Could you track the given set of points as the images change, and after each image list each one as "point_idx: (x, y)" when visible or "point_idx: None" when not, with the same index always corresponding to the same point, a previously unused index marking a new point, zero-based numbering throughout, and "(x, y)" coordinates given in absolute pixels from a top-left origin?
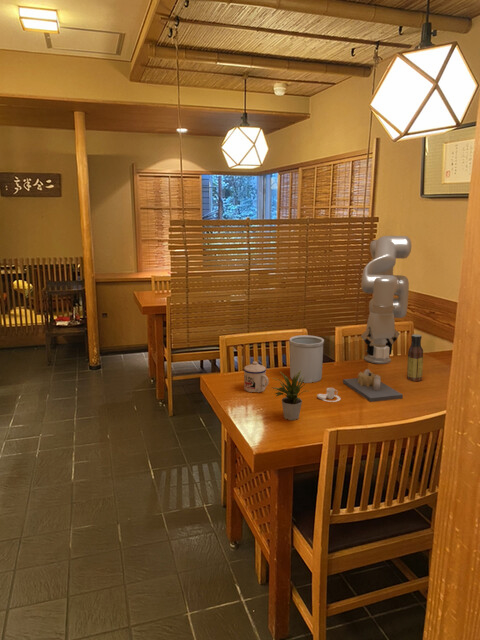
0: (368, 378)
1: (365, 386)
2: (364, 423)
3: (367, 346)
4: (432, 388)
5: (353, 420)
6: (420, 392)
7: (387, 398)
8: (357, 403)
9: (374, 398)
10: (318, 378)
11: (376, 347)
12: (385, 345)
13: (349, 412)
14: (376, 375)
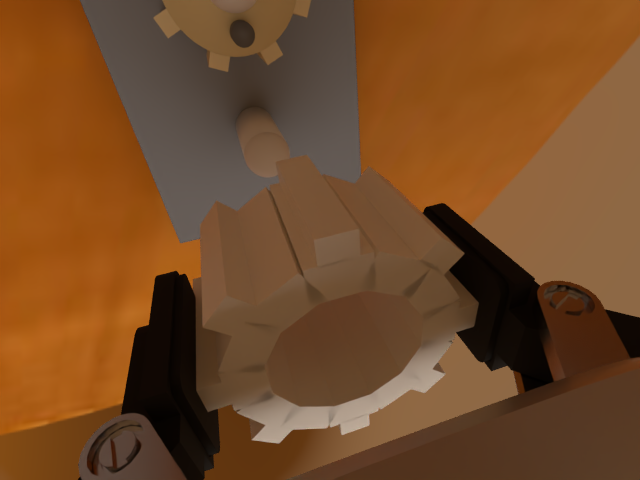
0: (217, 67)
1: (196, 50)
2: (109, 400)
3: (125, 402)
4: (570, 68)
5: (66, 389)
6: (479, 120)
7: None
8: (104, 250)
9: None
10: None
11: (266, 417)
12: (451, 311)
13: (51, 337)
14: (260, 163)
